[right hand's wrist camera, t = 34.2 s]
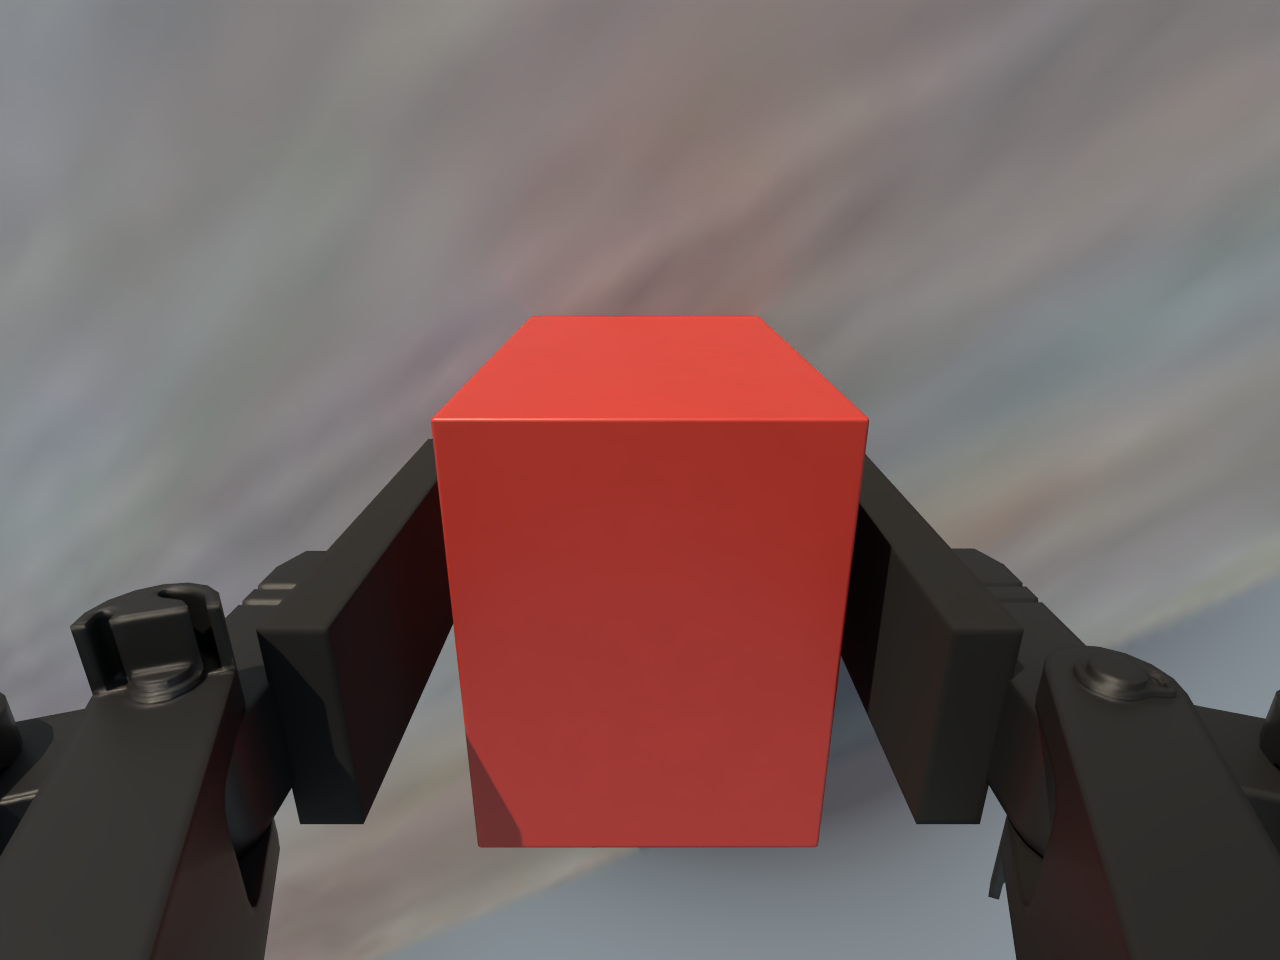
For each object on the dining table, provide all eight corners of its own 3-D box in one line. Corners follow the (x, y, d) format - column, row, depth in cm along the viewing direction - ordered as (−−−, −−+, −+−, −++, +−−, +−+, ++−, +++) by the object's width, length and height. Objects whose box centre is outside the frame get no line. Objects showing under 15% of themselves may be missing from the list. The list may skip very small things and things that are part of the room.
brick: (529, 316, 15) (428, 417, 8) (759, 316, 15) (871, 417, 8) (544, 580, 18) (477, 849, 10) (743, 580, 18) (818, 848, 10)
